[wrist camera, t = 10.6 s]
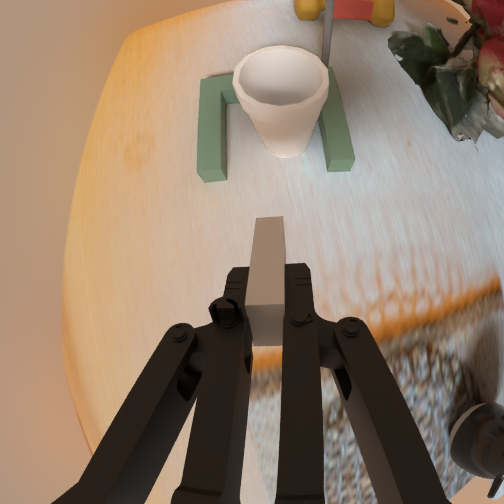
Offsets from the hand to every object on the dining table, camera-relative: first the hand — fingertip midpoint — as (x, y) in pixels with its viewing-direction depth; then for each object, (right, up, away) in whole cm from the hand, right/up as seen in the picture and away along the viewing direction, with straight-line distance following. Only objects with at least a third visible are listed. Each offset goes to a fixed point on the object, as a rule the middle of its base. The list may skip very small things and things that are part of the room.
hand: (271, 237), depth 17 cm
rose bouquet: (+38, +29, +18) cm, 51 cm away
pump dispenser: (+31, -27, +11) cm, 42 cm away
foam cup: (+3, +14, +20) cm, 25 cm away
